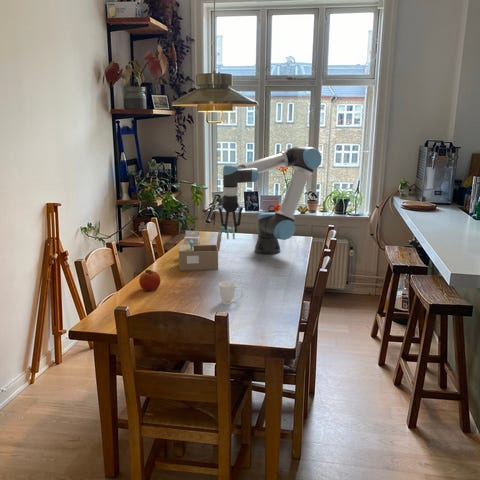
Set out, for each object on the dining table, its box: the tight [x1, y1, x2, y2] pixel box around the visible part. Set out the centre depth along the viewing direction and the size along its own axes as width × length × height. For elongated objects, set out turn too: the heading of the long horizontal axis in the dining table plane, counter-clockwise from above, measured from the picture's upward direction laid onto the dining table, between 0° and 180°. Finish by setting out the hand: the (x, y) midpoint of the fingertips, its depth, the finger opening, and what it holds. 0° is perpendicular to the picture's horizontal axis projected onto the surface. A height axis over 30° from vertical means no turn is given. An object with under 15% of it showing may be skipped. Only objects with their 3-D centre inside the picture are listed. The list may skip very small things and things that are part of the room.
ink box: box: [183, 230, 201, 245], centre depth 265 cm, size 9×5×15 cm, turn 84°
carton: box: [178, 244, 219, 272], centre depth 246 cm, size 20×14×10 cm
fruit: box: [138, 269, 161, 292], centre depth 212 cm, size 10×10×10 cm
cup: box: [218, 281, 244, 305], centre depth 197 cm, size 7×10×8 cm
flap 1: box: [178, 240, 194, 253], centre depth 244 cm, size 8×14×5 cm, turn 7°
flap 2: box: [215, 226, 233, 252], centre depth 246 cm, size 11×14×7 cm
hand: (230, 238), depth 249 cm, fingers open, 2 cm apart
